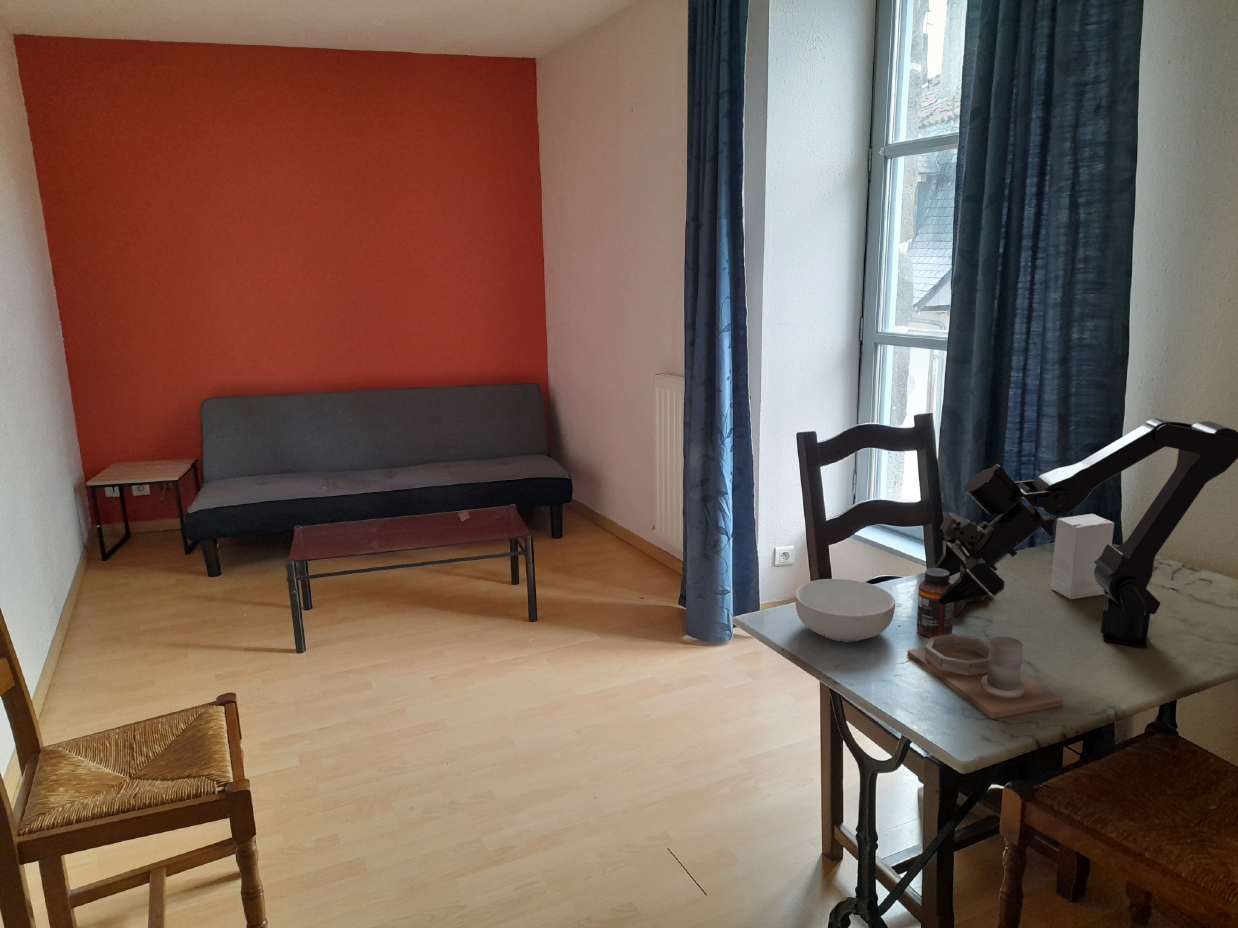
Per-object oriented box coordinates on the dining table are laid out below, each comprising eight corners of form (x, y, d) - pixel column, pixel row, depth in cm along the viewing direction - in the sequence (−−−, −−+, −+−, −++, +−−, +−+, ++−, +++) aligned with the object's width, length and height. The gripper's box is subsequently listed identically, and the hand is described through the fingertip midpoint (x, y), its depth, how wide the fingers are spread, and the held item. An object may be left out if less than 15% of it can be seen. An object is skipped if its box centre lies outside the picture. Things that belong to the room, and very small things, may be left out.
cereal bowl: (832, 661, 143) (834, 621, 142) (775, 624, 158) (776, 587, 157) (914, 641, 150) (916, 603, 148) (852, 607, 165) (853, 572, 163)
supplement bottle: (953, 628, 155) (957, 568, 152) (950, 642, 149) (955, 579, 147) (918, 623, 157) (921, 563, 154) (914, 636, 152) (917, 575, 149)
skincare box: (1085, 584, 173) (1093, 512, 169) (1108, 595, 167) (1116, 521, 164) (1048, 589, 171) (1055, 516, 168) (1070, 600, 165) (1077, 525, 162)
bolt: (988, 603, 170) (948, 622, 160) (968, 585, 173) (927, 603, 163) (1005, 582, 167) (966, 601, 157) (984, 564, 169) (944, 581, 160)
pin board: (907, 655, 145) (910, 608, 143) (969, 645, 148) (973, 599, 146) (992, 718, 125) (996, 664, 123) (1062, 705, 128) (1067, 652, 126)
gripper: (959, 485, 156) (892, 542, 160) (989, 516, 138) (912, 579, 142) (1002, 528, 157) (934, 584, 161) (1037, 564, 139) (959, 626, 143)
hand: (933, 592), depth 151 cm, fingers open, 9 cm apart
